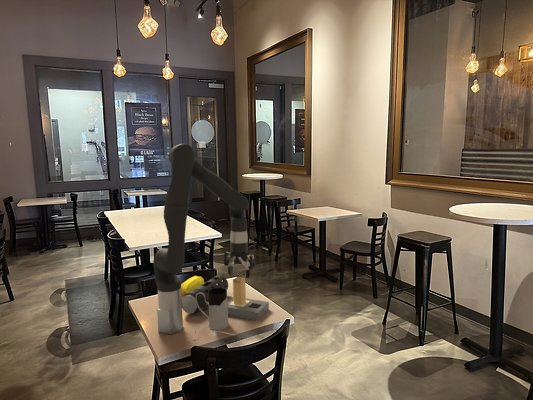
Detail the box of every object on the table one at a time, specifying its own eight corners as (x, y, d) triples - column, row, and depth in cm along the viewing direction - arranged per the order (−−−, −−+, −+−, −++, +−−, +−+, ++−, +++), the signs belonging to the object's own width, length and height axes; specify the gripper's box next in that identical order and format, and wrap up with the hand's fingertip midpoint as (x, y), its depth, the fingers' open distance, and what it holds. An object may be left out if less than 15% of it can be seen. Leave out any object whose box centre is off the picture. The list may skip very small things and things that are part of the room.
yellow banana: (175, 296, 190) (189, 298, 187) (175, 283, 189) (188, 285, 186) (195, 284, 206) (207, 286, 203) (194, 272, 205) (207, 274, 202)
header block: (257, 321, 161) (257, 312, 160) (224, 315, 167) (224, 306, 167) (268, 310, 172) (268, 301, 171) (237, 305, 178) (237, 296, 178)
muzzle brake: (229, 295, 190) (228, 275, 189) (198, 318, 165) (197, 295, 163) (212, 293, 194) (212, 273, 192) (179, 315, 168) (178, 292, 167)
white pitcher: (225, 331, 152) (224, 296, 150) (192, 328, 156) (190, 293, 154) (232, 322, 161) (231, 288, 159) (200, 319, 164) (199, 285, 162)
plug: (241, 304, 168) (241, 280, 166) (233, 303, 169) (233, 279, 168) (245, 301, 171) (245, 277, 170) (237, 300, 173) (237, 276, 172)
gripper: (220, 240, 166) (221, 276, 168) (249, 244, 160) (250, 281, 162) (229, 237, 173) (229, 272, 175) (257, 240, 167) (257, 276, 169)
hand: (239, 276), depth 168 cm, fingers open, 8 cm apart
